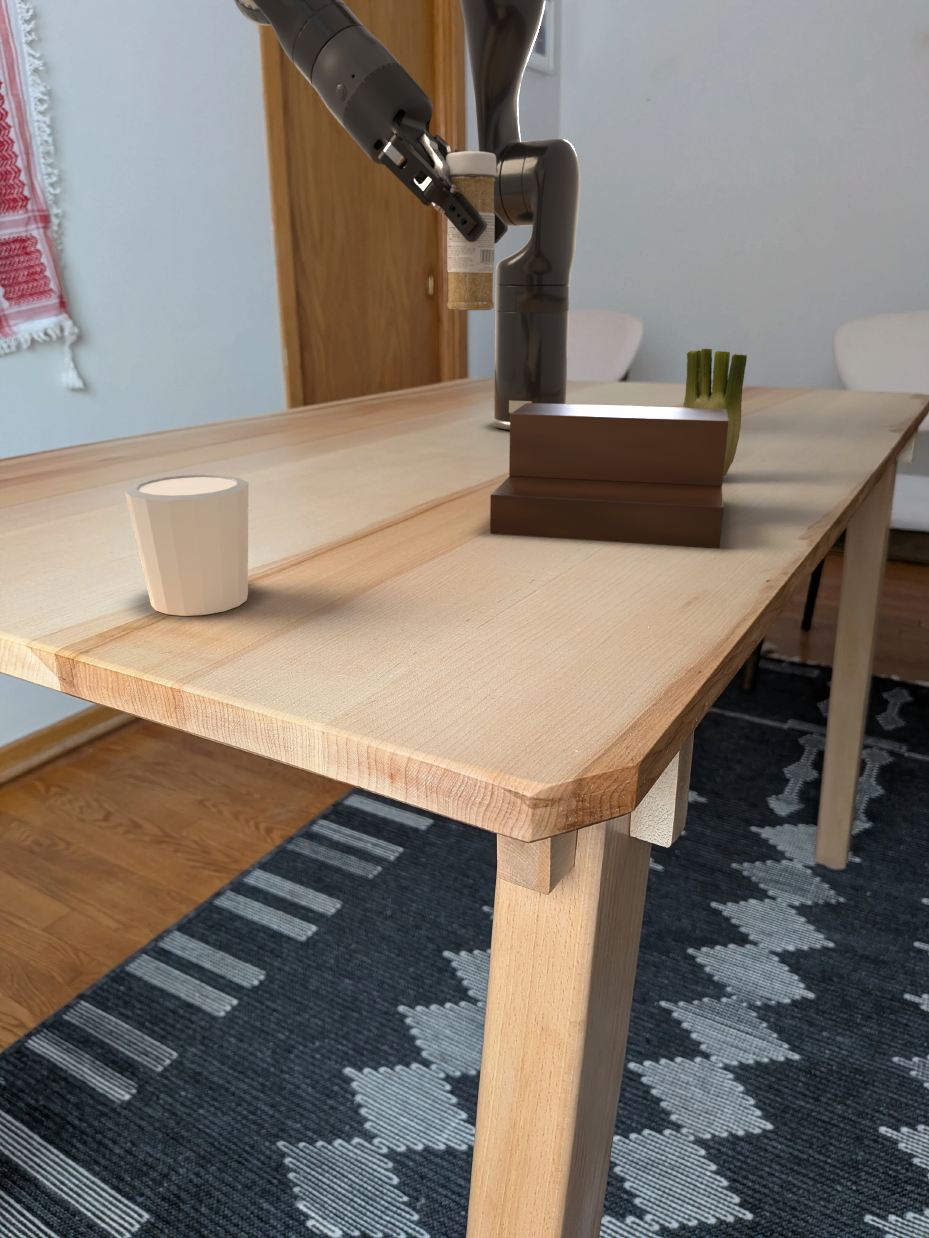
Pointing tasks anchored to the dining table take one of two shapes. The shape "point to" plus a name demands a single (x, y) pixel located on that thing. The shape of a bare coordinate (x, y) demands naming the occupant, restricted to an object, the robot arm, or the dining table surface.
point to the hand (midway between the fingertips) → (489, 235)
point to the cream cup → (192, 542)
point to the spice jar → (476, 259)
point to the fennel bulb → (717, 390)
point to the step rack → (614, 474)
